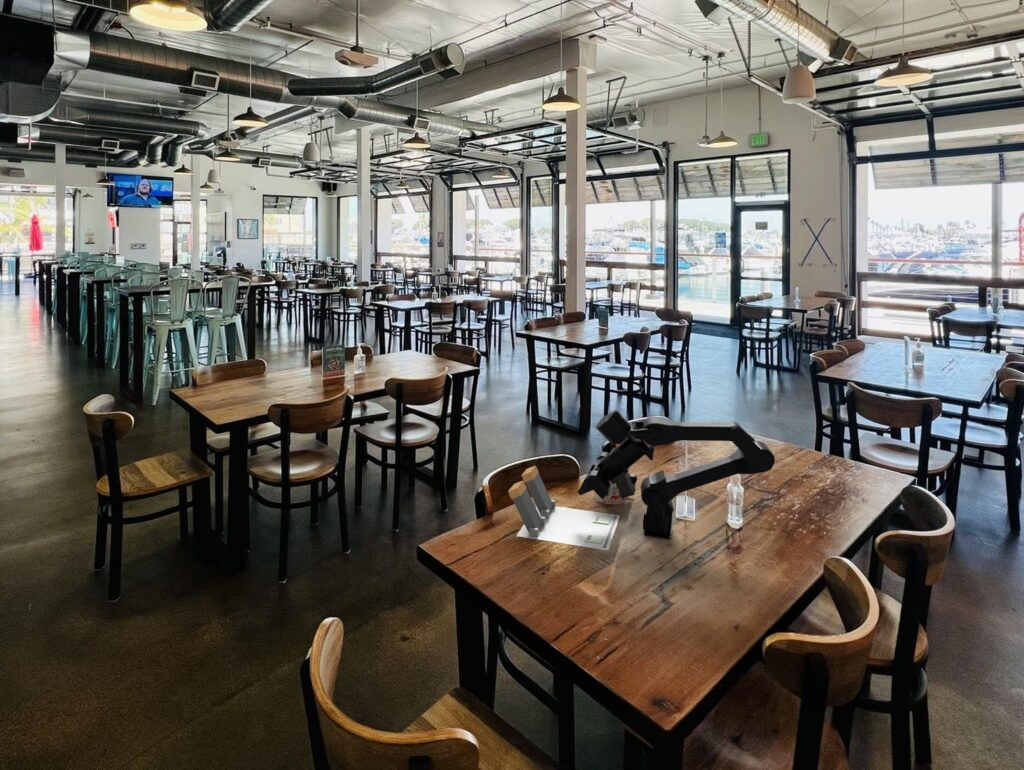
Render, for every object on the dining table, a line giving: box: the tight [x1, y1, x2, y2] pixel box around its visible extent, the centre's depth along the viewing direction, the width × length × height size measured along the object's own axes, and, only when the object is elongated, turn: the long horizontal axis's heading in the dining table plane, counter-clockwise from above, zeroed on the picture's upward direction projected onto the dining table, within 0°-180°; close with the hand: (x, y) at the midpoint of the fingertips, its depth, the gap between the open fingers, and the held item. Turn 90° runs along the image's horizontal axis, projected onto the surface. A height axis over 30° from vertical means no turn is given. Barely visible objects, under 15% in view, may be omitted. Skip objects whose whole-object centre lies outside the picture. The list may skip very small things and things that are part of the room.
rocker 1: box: [521, 465, 553, 514], centre depth 166 cm, size 3×5×11 cm, turn 163°
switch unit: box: [516, 499, 621, 551], centre depth 160 cm, size 22×20×4 cm
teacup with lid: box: [593, 480, 637, 505], centre depth 176 cm, size 12×9×12 cm
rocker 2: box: [507, 480, 542, 533], centre depth 156 cm, size 3×5×11 cm, turn 163°
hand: (579, 493), depth 163 cm, fingers closed
